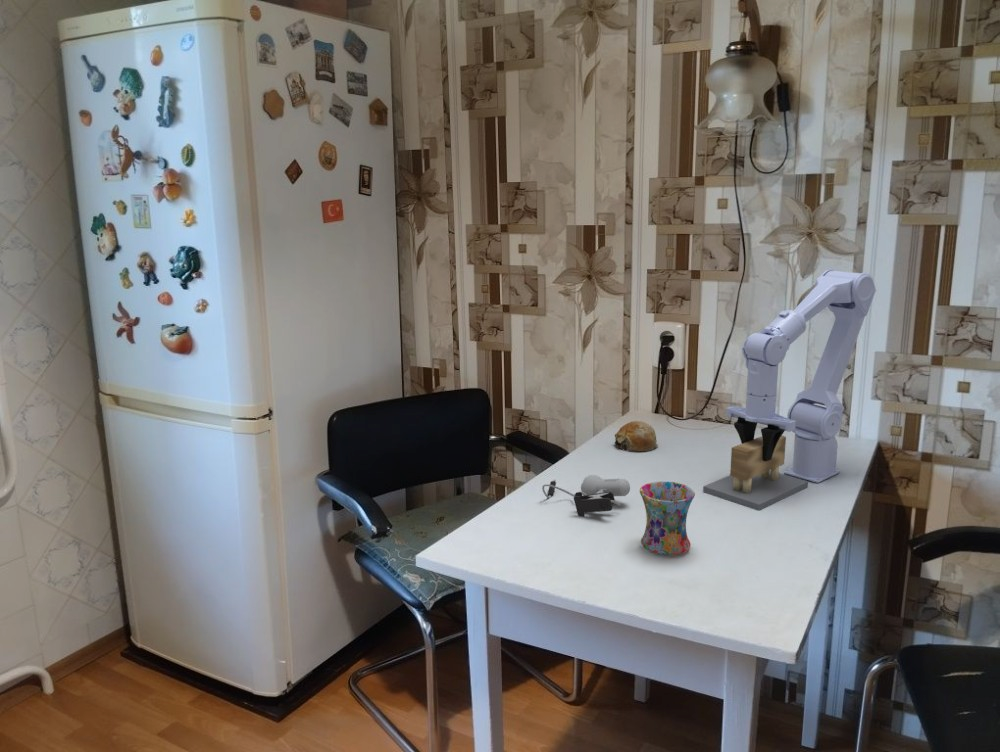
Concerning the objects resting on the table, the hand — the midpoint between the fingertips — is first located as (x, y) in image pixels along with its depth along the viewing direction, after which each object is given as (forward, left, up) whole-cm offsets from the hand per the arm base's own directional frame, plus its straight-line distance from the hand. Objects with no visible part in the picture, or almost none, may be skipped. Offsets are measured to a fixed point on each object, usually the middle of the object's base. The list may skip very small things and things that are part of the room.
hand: (757, 457), depth 163 cm
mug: (+34, +4, -7) cm, 35 cm away
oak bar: (0, 0, -3) cm, 3 cm away
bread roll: (-3, -35, -7) cm, 36 cm away
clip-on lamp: (+32, -19, -7) cm, 38 cm away
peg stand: (0, 0, -7) cm, 7 cm away
